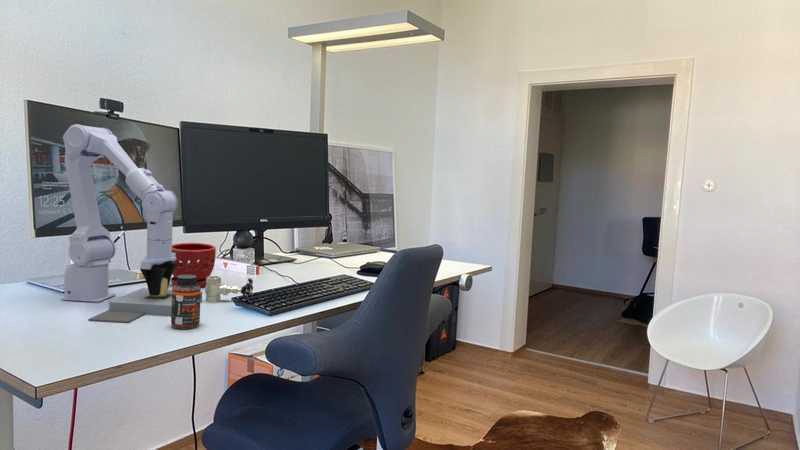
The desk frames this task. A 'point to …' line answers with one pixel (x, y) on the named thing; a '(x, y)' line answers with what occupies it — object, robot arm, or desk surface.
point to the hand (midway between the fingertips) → (158, 292)
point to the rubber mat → (116, 316)
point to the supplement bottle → (186, 302)
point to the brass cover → (162, 290)
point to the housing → (143, 303)
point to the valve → (223, 289)
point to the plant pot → (194, 261)
